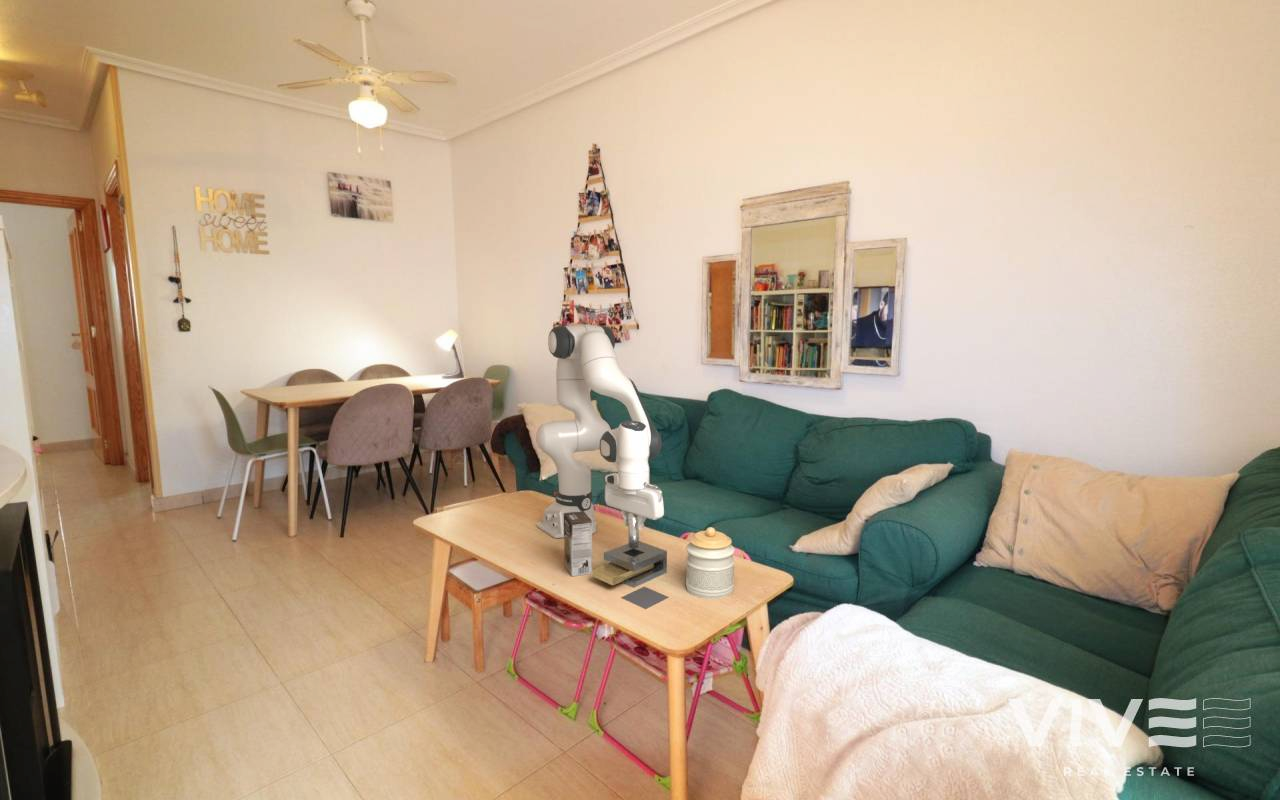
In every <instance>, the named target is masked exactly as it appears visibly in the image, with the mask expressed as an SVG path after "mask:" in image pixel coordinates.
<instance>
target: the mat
mask: <svg viewBox="0 0 1280 800" xmlns="http://www.w3.org/2000/svg"><path fill="white" fill-rule="evenodd" d="M620 598H621V599H622V600H625V601H626V602H629V603H631V604H633V605H636V606H638V607H640V608H642V609H644V610H647V609H649V608H651V607H653V606H655V605H657V604H659V603H662V602H663V601H664V600H666V599H669V598H670V597H669V596H668V595H665V594H662V593H661V592H658V591H656V590H654V589H651V588H649V587H646V586H642V587H640V588H638V589H635V590H633V591H632V592H630V593H627V594H625V595H624V596H620Z"/></svg>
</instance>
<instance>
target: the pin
mask: <svg viewBox="0 0 1280 800" xmlns="http://www.w3.org/2000/svg"><path fill="white" fill-rule="evenodd" d="M638 521H639V519H638V515H636V514H633V513H630V512H628V526H627V527H628V528H627V529H628V532H627V534H628V535H627V537H628V538H627V540H628V541H627V544H628V547H629V548H638V547H639V541H640V530H638V529H636V528H635V527H636V526H635V523H638Z"/></svg>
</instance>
